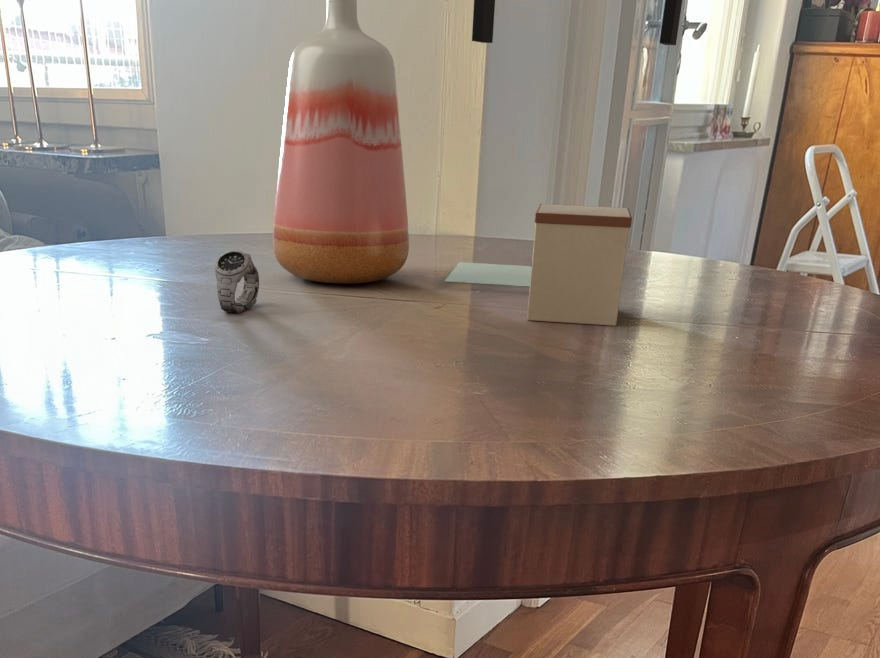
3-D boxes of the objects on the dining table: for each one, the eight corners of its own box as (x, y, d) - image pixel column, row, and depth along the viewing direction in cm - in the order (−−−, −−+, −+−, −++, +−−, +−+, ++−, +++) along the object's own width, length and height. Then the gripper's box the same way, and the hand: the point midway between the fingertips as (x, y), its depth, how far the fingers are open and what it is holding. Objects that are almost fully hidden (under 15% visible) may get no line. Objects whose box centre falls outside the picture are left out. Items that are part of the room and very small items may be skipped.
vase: (389, 266, 111) (395, -45, 96) (423, 289, 99) (437, -64, 84) (265, 268, 107) (252, -55, 93) (285, 291, 95) (274, -76, 81)
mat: (609, 272, 113) (609, 270, 113) (612, 293, 101) (612, 291, 101) (459, 263, 115) (459, 262, 115) (444, 283, 103) (444, 281, 103)
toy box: (615, 309, 92) (628, 207, 88) (617, 326, 85) (632, 217, 81) (530, 303, 94) (539, 203, 89) (525, 320, 86) (535, 212, 82)
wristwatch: (209, 313, 85) (205, 254, 83) (237, 301, 90) (234, 244, 88) (245, 316, 85) (242, 256, 82) (272, 304, 90) (270, 247, 87)
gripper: (400, -367, 59) (392, 38, 70) (830, -424, 51) (748, 42, 62) (441, -323, 65) (428, 43, 76) (831, -368, 57) (756, 47, 68)
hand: (572, 43), depth 69 cm, fingers open, 13 cm apart
